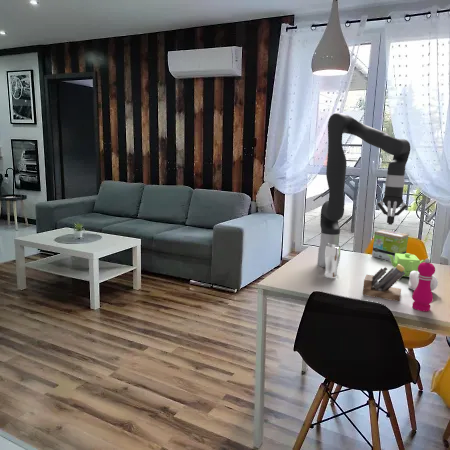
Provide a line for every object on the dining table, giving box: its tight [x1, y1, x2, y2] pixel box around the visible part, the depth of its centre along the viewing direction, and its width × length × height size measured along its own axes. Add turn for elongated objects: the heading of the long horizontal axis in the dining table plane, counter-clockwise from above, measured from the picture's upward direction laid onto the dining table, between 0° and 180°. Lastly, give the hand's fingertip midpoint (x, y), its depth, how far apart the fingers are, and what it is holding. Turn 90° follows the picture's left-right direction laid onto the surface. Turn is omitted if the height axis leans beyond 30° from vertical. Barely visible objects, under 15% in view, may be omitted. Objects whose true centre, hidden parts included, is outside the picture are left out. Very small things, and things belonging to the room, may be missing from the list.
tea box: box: [371, 229, 409, 262], centre depth 231 cm, size 15×10×15 cm, turn 43°
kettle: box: [386, 252, 425, 279], centre depth 201 cm, size 15×14×11 cm
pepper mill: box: [411, 258, 436, 312], centre depth 160 cm, size 7×7×20 cm
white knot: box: [407, 271, 439, 292], centre depth 181 cm, size 11×12×9 cm
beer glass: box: [323, 244, 342, 280], centre depth 195 cm, size 7×7×15 cm
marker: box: [378, 264, 405, 289], centre depth 173 cm, size 3×3×12 cm
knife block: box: [362, 266, 405, 302], centre depth 174 cm, size 15×9×11 cm, turn 65°
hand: (390, 224), depth 186 cm, fingers closed
